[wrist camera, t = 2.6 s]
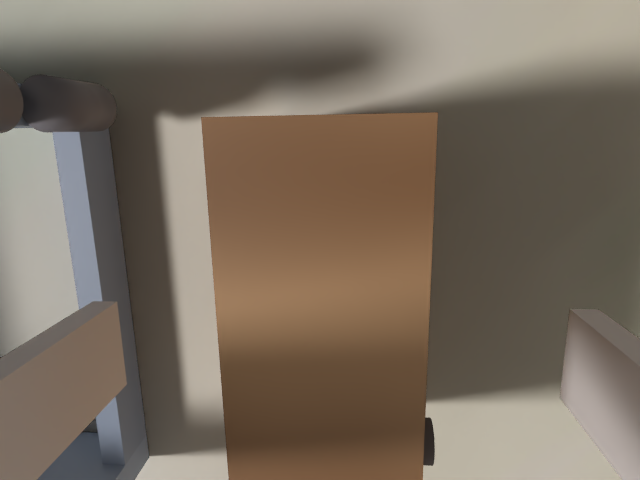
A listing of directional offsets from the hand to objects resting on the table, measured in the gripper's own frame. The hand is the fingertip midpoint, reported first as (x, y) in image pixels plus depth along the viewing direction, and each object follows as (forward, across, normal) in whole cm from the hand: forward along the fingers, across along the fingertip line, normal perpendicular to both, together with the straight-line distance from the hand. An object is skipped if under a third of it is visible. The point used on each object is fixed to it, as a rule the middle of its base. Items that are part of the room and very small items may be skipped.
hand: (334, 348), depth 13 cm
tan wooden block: (+6, 0, +1) cm, 6 cm away
